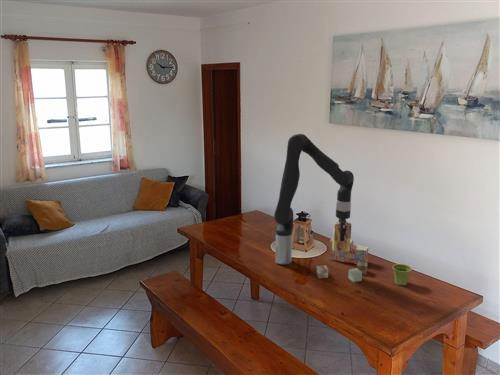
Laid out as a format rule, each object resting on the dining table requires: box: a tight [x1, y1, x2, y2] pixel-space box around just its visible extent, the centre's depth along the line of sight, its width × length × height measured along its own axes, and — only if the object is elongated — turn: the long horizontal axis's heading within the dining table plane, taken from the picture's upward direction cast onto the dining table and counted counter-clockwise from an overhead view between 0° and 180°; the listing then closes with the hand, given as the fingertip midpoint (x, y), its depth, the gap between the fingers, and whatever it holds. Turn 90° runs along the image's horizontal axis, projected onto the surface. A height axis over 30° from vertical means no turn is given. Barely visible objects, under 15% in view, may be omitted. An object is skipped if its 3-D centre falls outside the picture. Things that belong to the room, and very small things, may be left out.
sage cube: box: [347, 267, 363, 283], centre depth 235 cm, size 5×5×5 cm
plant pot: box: [392, 263, 413, 287], centre depth 230 cm, size 9×9×9 cm
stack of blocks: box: [328, 236, 369, 265], centre depth 258 cm, size 21×6×12 cm, turn 63°
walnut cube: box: [356, 262, 368, 276], centre depth 243 cm, size 5×5×5 cm
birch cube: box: [316, 265, 329, 279], centre depth 239 cm, size 5×5×5 cm
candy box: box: [332, 221, 352, 251], centre depth 238 cm, size 9×4×15 cm, turn 92°
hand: (341, 238), depth 238 cm, fingers closed on candy box, 4 cm apart
